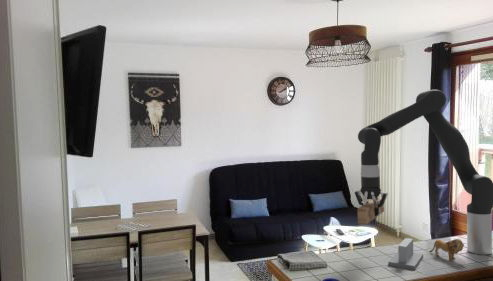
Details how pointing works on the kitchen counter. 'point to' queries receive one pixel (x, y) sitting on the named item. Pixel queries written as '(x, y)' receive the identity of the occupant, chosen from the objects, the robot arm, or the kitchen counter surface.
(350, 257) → the kitchen counter surface
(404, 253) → the ridge stand
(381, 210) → the walnut bar
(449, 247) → the lion figurine
